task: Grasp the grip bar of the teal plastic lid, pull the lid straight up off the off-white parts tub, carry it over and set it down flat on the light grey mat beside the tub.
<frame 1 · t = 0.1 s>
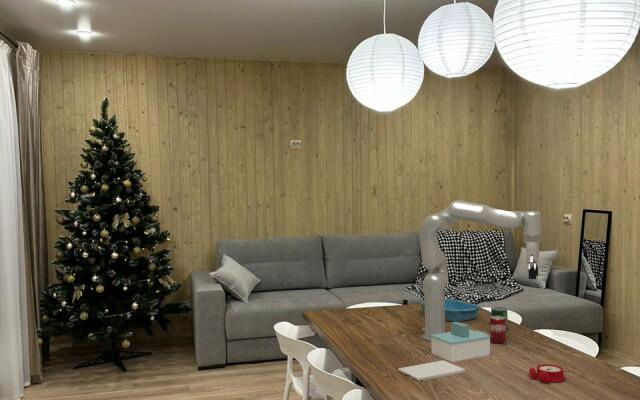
hand: (533, 277, 256), 31 cm above the table, tool pointing down, fingers open, 9 cm apart
tub: (460, 355, 246), on the table
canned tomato: (499, 330, 287), on the table
casserole dish: (449, 316, 323), on the table
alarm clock: (546, 380, 215), on the table
lid: (460, 339, 246), point 7 cm above the table, touching tub
soda can: (498, 344, 264), on the table
mat: (431, 371, 227), on the table
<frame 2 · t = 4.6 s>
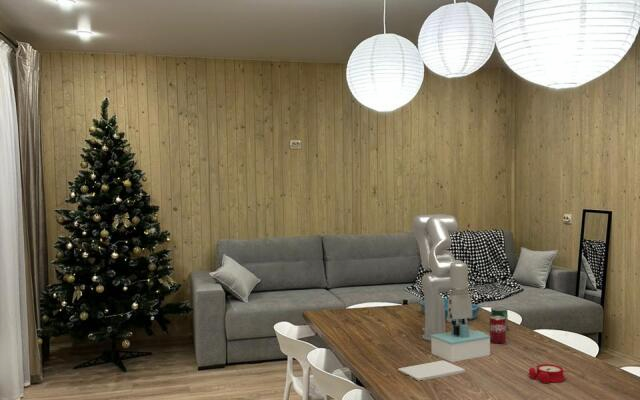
hand: (460, 333, 246), 10 cm above the table, tool pointing down, fingers closed on lid, 3 cm apart
lid: (460, 339, 246), point 7 cm above the table, touching gripper, tub
everything else where it was.
when the fingers open (5 cm above the table, at t = 11.7 s): lid drops 1 cm, resting on mat.
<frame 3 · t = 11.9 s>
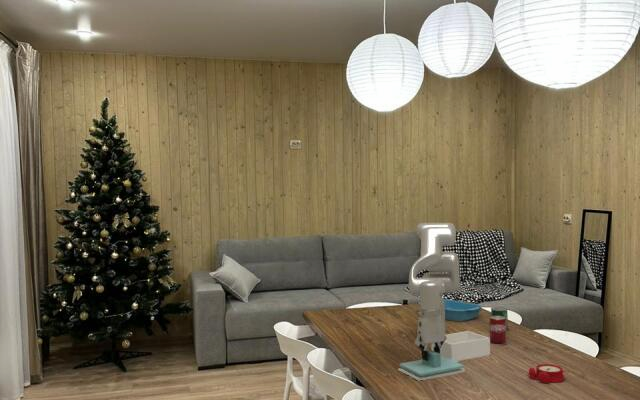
hand: (431, 358, 227), 5 cm above the table, tool pointing down, fingers open, 4 cm apart
lid: (431, 369, 227), point 1 cm above the table, touching mat
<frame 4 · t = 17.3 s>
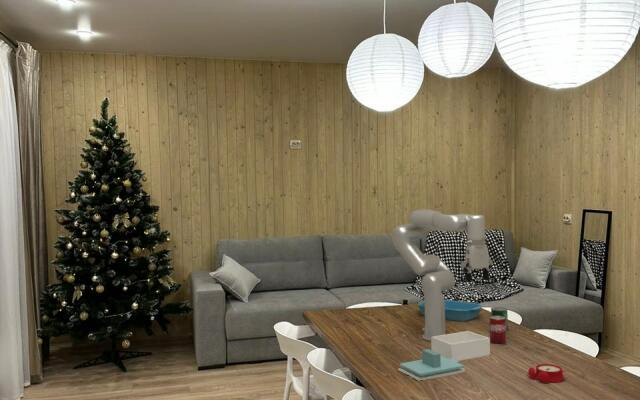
hand: (477, 280, 256), 30 cm above the table, tool pointing down, fingers open, 9 cm apart
at the end: lid inside the target area on the mat (0.1 cm from its centre), point 1.0 cm above the mat's base; lid touching mat; the gripper is holding nothing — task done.
